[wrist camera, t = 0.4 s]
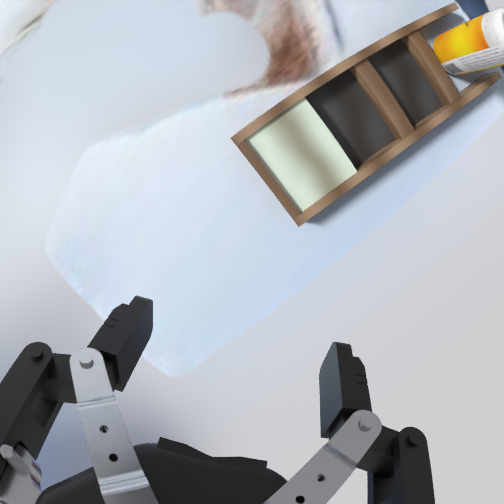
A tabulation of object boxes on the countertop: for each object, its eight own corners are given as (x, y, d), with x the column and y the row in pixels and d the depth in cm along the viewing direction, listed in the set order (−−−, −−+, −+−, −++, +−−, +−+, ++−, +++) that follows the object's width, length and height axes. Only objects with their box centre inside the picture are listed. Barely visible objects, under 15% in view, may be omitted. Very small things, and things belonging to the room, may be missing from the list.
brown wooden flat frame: (295, 220, 38) (298, 226, 35) (232, 138, 35) (230, 138, 32) (488, 80, 31) (501, 78, 28) (443, 8, 28) (454, 2, 25)
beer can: (467, 48, 30) (537, 27, 16) (462, 83, 32) (538, 71, 18) (432, 27, 30) (499, -6, 15) (427, 63, 31) (499, 38, 17)
